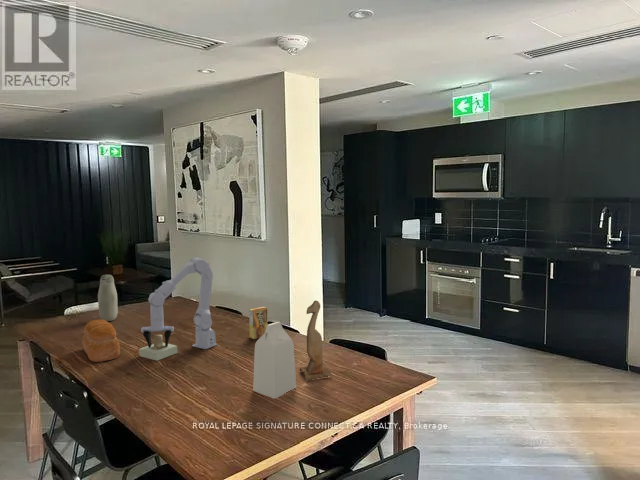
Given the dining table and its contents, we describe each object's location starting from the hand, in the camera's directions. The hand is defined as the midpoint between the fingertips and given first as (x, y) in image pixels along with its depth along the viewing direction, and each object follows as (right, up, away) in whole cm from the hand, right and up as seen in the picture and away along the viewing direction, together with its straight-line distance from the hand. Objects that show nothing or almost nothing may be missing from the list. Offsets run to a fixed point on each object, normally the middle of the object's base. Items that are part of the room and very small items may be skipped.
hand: (158, 346), depth 219 cm
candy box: (+44, -1, +26) cm, 51 cm away
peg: (0, -4, 0) cm, 4 cm away
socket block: (0, -4, 0) cm, 4 cm away
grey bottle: (-50, +1, +60) cm, 78 cm away
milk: (+59, -8, -40) cm, 71 cm away
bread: (-28, -4, +3) cm, 29 cm away
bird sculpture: (+74, -6, -26) cm, 79 cm away
